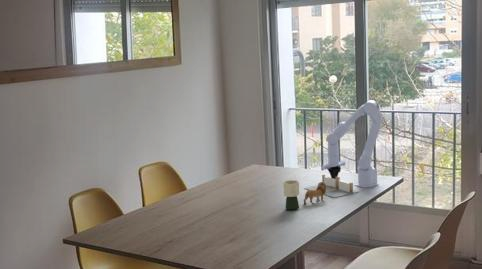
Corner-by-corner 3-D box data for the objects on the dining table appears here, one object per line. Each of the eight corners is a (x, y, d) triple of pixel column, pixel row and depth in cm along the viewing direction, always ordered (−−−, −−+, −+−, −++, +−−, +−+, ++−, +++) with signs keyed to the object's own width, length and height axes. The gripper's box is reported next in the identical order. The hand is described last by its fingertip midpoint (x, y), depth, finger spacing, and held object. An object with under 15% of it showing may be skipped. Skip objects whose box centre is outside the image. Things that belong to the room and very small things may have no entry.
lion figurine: (321, 198, 295) (320, 180, 294) (329, 200, 291) (328, 181, 290) (300, 205, 286) (299, 186, 284) (308, 207, 282) (308, 188, 280)
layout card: (328, 183, 322) (328, 182, 322) (359, 192, 302) (359, 191, 302) (304, 188, 314) (304, 188, 314) (334, 198, 294) (334, 197, 294)
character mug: (304, 211, 276) (303, 183, 274) (290, 213, 274) (288, 185, 271) (294, 205, 286) (293, 178, 284) (280, 207, 284) (279, 180, 282)
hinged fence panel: (337, 187, 311) (337, 177, 310) (335, 187, 310) (334, 178, 310) (324, 183, 320) (323, 174, 320) (321, 183, 320) (321, 174, 319)
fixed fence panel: (335, 188, 310) (334, 177, 309) (338, 187, 311) (337, 176, 310) (350, 193, 300) (350, 181, 299) (354, 192, 301) (353, 180, 300)
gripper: (338, 152, 323) (339, 177, 326) (317, 156, 316) (318, 182, 318) (347, 154, 318) (348, 179, 320) (326, 158, 310) (327, 184, 312)
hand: (334, 180), depth 318 cm, fingers closed
